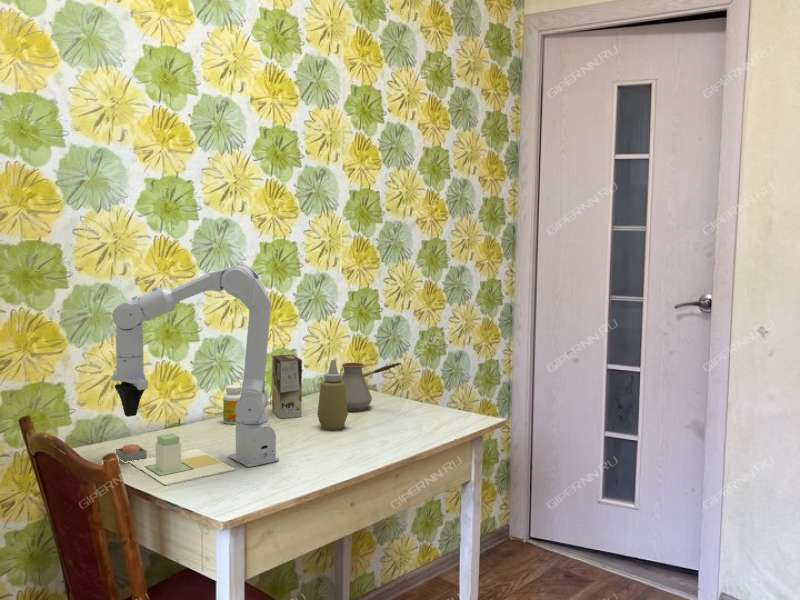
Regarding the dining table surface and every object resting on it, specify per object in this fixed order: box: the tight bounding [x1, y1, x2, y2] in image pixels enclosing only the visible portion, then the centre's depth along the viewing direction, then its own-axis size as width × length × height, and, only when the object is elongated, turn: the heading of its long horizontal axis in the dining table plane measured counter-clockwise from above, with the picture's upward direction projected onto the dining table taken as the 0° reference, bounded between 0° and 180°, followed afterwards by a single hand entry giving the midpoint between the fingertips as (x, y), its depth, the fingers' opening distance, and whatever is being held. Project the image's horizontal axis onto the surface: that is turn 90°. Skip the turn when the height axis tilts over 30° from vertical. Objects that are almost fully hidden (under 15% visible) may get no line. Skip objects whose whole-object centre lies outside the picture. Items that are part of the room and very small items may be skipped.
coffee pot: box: [341, 362, 404, 412], centre depth 219 cm, size 21×12×15 cm, turn 65°
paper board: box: [131, 448, 236, 486], centre depth 167 cm, size 18×16×1 cm
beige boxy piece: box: [155, 433, 182, 472], centre depth 164 cm, size 4×4×7 cm
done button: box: [122, 444, 141, 454], centre depth 171 cm, size 4×4×2 cm
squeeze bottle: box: [316, 359, 349, 431], centre depth 200 cm, size 8×8×18 cm
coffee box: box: [271, 354, 303, 419], centre depth 213 cm, size 9×6×16 cm
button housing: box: [115, 446, 147, 462], centre depth 171 cm, size 5×5×2 cm
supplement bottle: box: [222, 384, 242, 425], centre depth 203 cm, size 5×5×10 cm
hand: (130, 415), depth 170 cm, fingers closed
